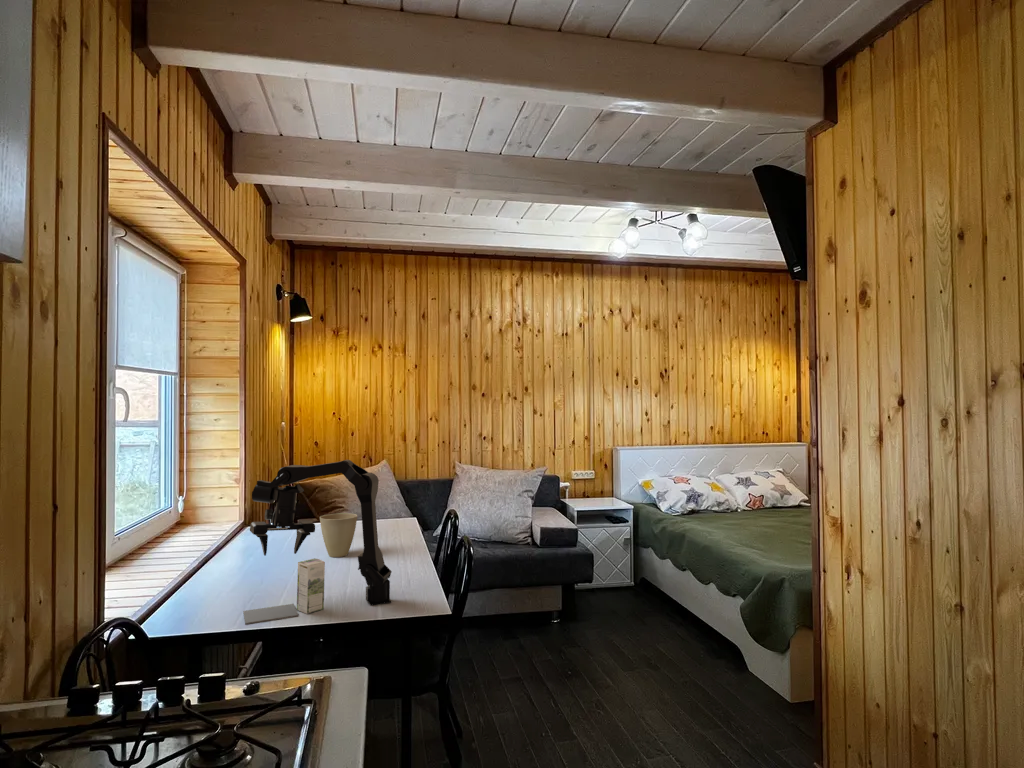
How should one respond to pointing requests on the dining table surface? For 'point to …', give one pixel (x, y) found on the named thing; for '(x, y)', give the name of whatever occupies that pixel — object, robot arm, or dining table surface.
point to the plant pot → (338, 533)
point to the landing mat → (269, 613)
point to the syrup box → (310, 585)
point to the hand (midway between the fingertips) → (280, 554)
